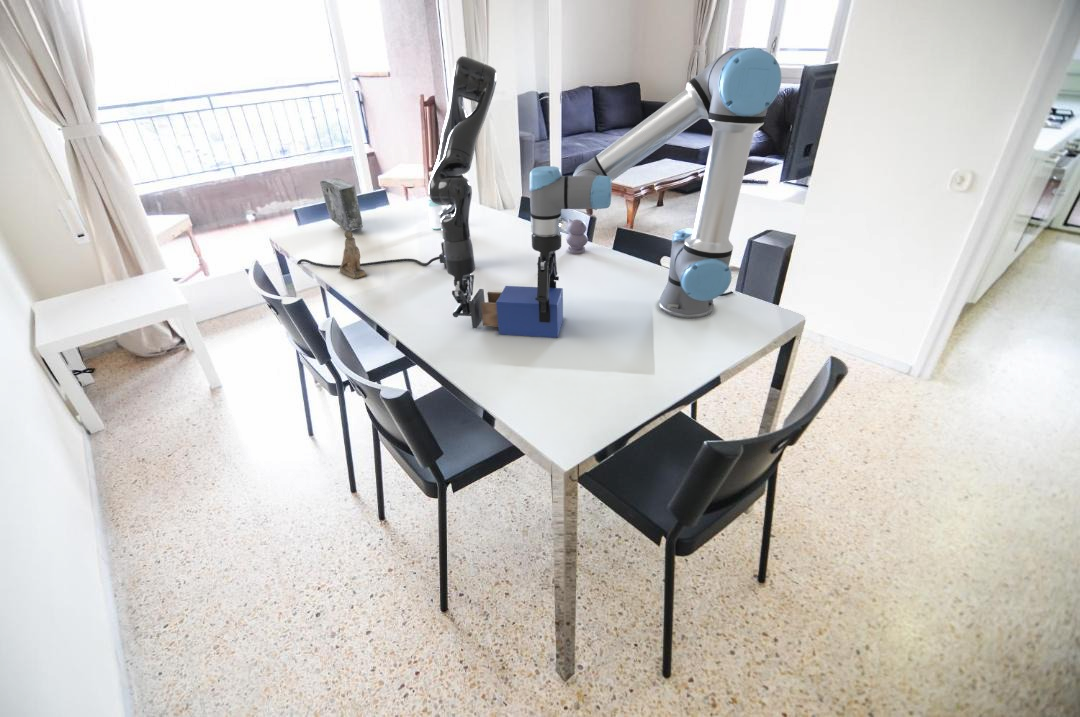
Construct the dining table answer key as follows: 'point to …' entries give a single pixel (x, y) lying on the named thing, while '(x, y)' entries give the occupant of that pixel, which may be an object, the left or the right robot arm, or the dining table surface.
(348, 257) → the worn brown figurine
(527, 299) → the cabinet
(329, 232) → the dining table surface
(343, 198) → the concrete block
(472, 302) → the drawer
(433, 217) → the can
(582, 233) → the cat figurine
